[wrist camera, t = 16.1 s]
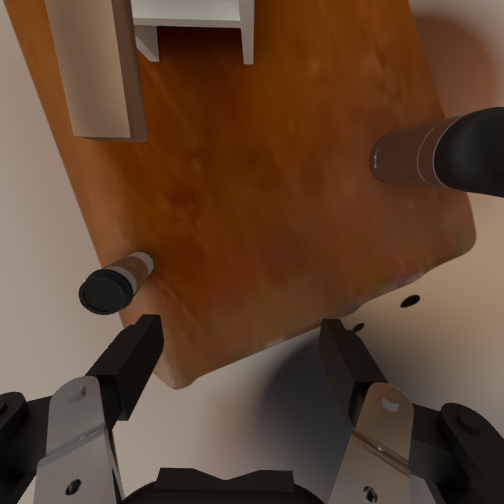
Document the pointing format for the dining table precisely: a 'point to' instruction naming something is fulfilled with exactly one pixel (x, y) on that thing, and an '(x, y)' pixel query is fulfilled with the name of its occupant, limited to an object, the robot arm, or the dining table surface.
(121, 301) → the coffee cup
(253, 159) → the dining table surface
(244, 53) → the shelf stand
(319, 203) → the dining table surface
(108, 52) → the walnut mallet
